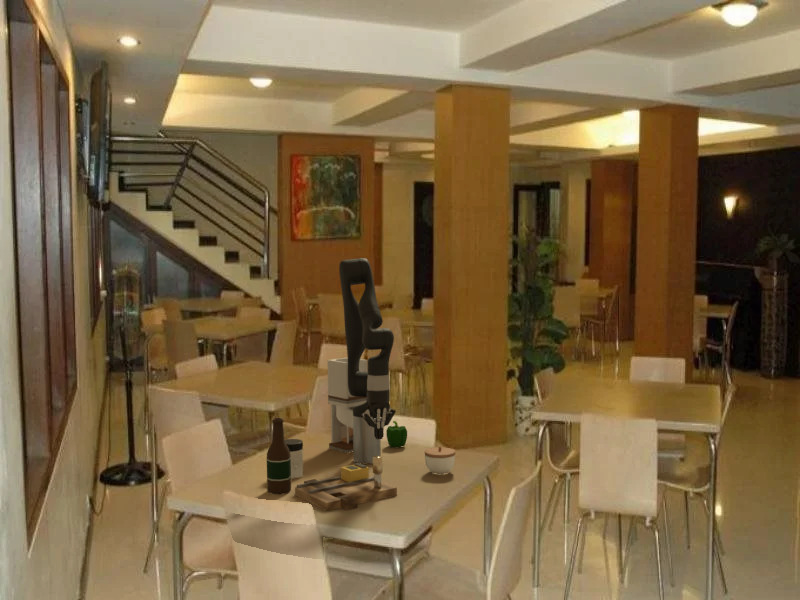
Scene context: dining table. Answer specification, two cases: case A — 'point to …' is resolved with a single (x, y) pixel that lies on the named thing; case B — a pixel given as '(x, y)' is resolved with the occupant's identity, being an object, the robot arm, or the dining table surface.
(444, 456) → the lidded jar
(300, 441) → the jar
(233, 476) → the dining table surface
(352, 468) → the stud finder
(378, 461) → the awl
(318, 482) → the subfloor panel
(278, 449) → the beer bottle
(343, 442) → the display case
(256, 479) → the dining table surface
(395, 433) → the bell pepper
